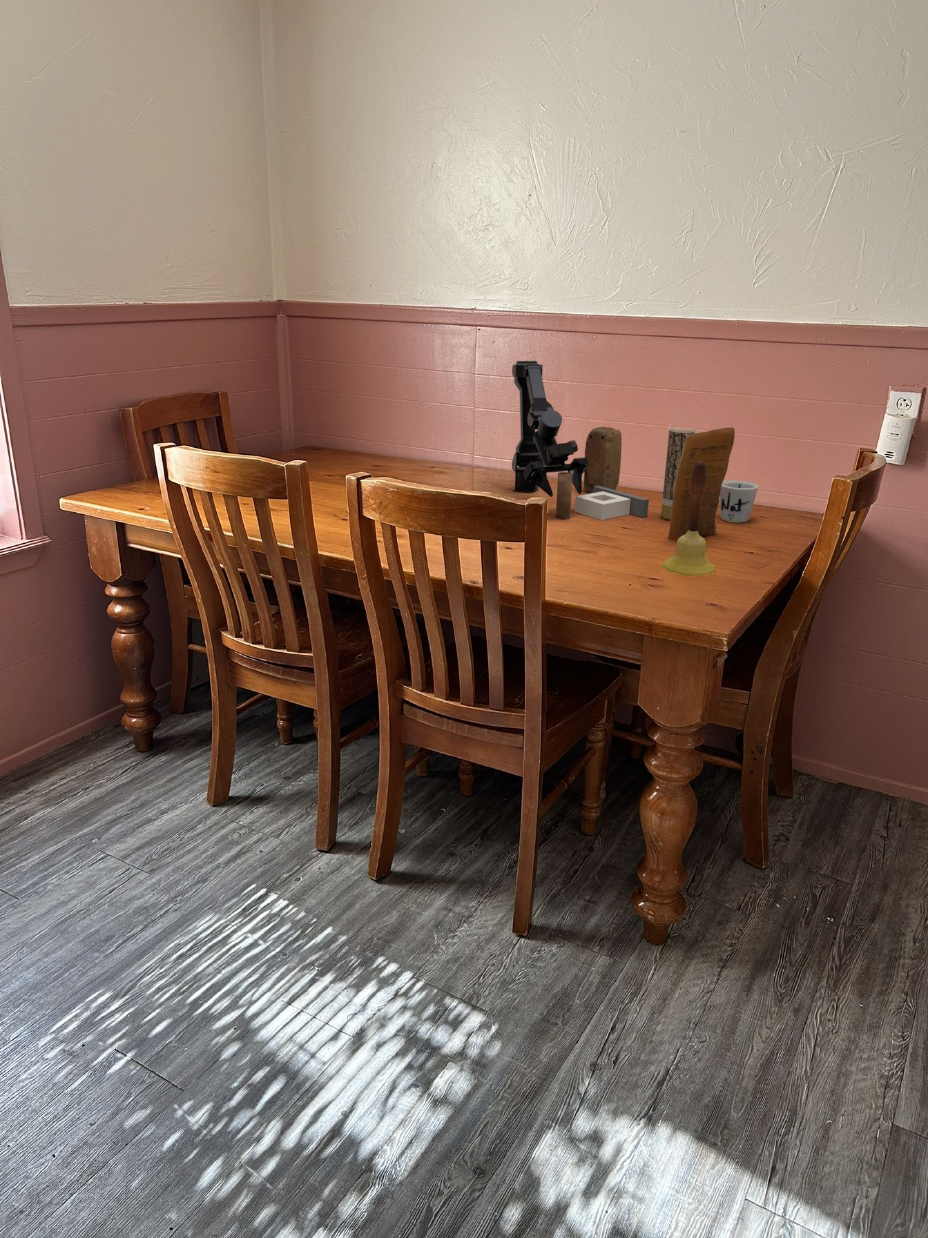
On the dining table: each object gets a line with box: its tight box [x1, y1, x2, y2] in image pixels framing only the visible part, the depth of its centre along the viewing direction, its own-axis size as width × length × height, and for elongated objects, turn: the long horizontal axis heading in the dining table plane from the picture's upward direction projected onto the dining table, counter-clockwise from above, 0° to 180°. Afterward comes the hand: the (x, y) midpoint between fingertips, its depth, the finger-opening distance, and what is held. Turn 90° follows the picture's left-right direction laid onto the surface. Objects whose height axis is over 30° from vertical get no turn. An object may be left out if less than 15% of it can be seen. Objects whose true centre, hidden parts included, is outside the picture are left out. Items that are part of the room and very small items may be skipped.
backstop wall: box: [593, 486, 650, 518], centre depth 255 cm, size 20×2×5 cm, turn 37°
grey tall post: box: [660, 426, 696, 521], centre depth 243 cm, size 7×7×25 cm
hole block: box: [574, 491, 631, 521], centre depth 251 cm, size 11×11×4 cm
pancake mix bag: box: [667, 427, 736, 540], centre depth 227 cm, size 7×19×28 cm, turn 118°
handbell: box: [661, 462, 716, 577], centre depth 202 cm, size 12×12×25 cm
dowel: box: [555, 471, 573, 521], centre depth 244 cm, size 4×4×12 cm
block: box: [583, 426, 623, 494], centre depth 271 cm, size 11×8×20 cm
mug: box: [719, 480, 759, 524], centre depth 248 cm, size 10×15×10 cm
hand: (566, 494), depth 243 cm, fingers open, 9 cm apart
